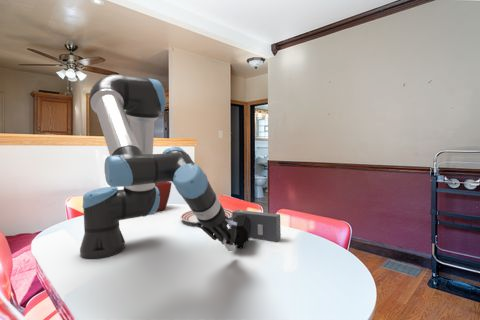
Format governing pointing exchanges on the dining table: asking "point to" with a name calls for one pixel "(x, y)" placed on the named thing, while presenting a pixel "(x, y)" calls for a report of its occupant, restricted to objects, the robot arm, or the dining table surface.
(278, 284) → the dining table surface
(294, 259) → the dining table surface
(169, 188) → the plant pot
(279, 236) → the charging block
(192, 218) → the dinner plate
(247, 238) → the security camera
